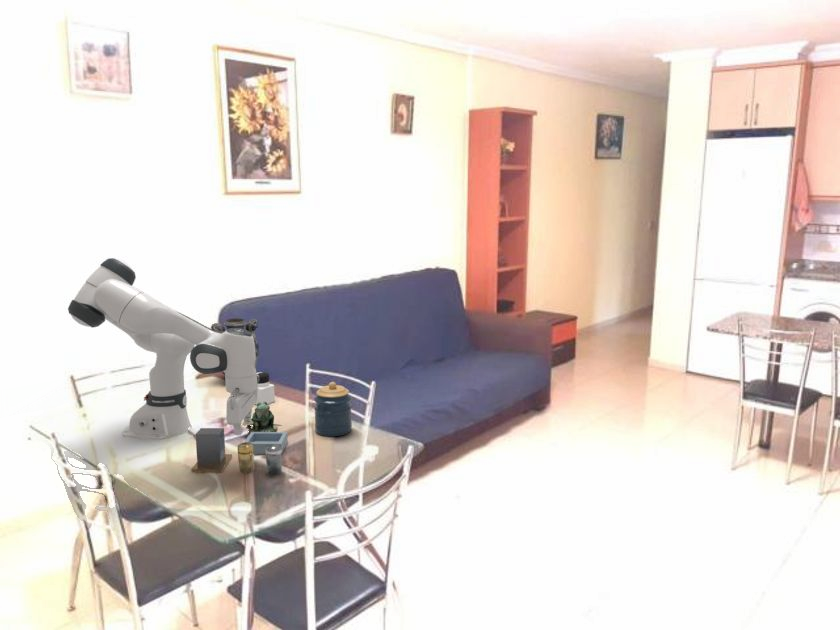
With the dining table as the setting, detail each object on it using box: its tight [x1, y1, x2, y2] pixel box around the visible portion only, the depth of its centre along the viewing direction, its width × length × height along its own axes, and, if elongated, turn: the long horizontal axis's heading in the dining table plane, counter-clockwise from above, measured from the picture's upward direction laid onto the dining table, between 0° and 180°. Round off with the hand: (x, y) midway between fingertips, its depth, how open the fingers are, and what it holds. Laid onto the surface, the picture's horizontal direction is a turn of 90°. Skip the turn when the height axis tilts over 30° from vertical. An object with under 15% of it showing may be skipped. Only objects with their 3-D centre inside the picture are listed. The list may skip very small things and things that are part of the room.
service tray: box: [243, 431, 289, 455], centre depth 206 cm, size 12×10×4 cm
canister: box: [313, 381, 353, 437], centre depth 221 cm, size 13×13×18 cm
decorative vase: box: [210, 318, 260, 376], centre depth 275 cm, size 21×19×28 cm
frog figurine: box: [242, 402, 283, 434], centre depth 219 cm, size 18×18×12 cm
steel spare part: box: [265, 444, 283, 476], centre depth 188 cm, size 5×5×8 cm
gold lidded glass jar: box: [237, 441, 255, 474], centre depth 189 cm, size 5×5×8 cm
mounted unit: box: [190, 427, 233, 473], centre depth 193 cm, size 9×11×11 cm
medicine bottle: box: [255, 371, 276, 406], centre depth 250 cm, size 7×7×12 cm
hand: (243, 428), depth 187 cm, fingers open, 8 cm apart
